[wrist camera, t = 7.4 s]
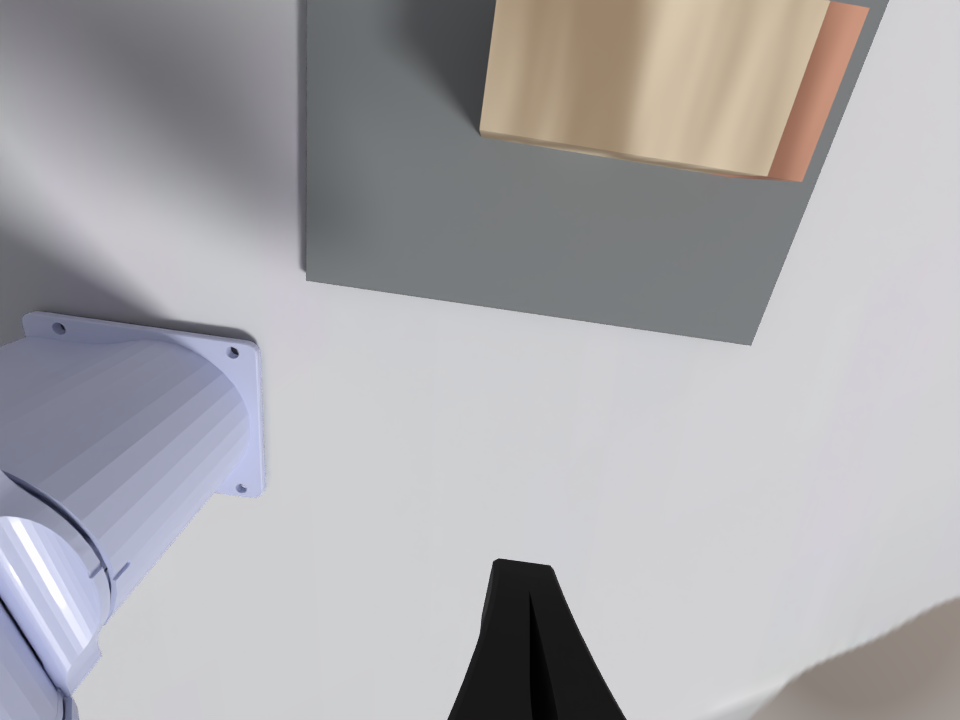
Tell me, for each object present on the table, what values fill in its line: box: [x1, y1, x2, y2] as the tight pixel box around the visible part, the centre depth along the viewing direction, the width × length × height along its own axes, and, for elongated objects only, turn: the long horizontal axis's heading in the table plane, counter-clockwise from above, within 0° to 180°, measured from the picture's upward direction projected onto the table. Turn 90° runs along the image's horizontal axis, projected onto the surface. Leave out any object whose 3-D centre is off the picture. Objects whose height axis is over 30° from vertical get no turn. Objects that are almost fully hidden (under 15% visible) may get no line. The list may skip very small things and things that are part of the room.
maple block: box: [479, 0, 870, 182], centre depth 14 cm, size 4×4×9 cm
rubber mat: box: [306, 0, 889, 346], centre depth 16 cm, size 18×14×1 cm
